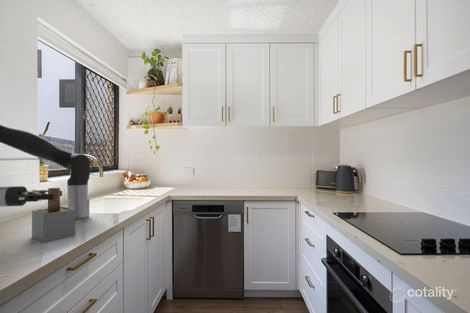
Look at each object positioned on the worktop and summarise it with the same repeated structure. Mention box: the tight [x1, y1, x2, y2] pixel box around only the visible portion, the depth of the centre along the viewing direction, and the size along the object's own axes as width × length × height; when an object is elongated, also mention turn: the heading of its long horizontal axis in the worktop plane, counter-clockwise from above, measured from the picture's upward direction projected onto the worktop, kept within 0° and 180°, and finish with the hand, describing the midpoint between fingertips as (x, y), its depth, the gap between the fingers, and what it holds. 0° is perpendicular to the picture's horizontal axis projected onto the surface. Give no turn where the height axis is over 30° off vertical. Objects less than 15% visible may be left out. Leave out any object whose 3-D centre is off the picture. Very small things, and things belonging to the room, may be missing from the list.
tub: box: [31, 206, 76, 244], centre depth 104 cm, size 11×11×10 cm
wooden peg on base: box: [39, 187, 67, 214], centre depth 104 cm, size 8×8×10 cm
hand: (57, 194), depth 104 cm, fingers open, 8 cm apart
